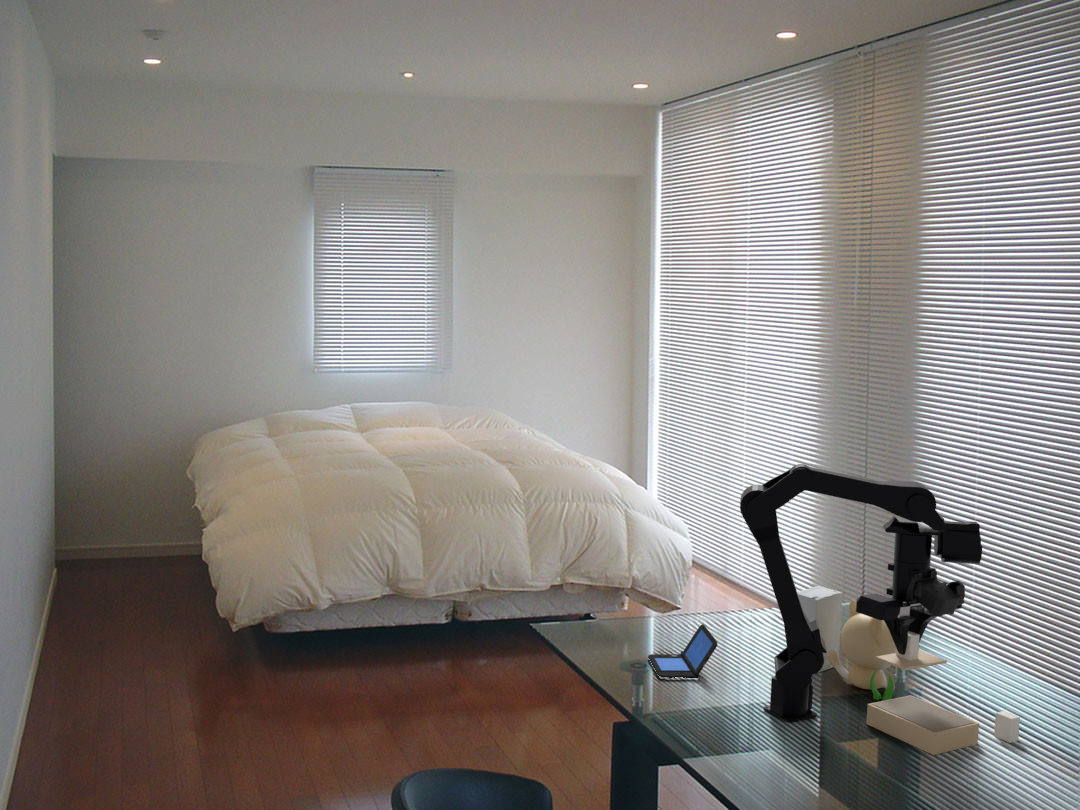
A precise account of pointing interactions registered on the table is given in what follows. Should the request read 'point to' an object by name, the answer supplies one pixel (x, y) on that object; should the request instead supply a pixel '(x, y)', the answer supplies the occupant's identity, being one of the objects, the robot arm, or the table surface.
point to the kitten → (865, 653)
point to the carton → (922, 724)
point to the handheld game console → (686, 657)
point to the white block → (1007, 726)
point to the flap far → (911, 656)
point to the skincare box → (824, 616)
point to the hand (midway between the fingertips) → (906, 653)
